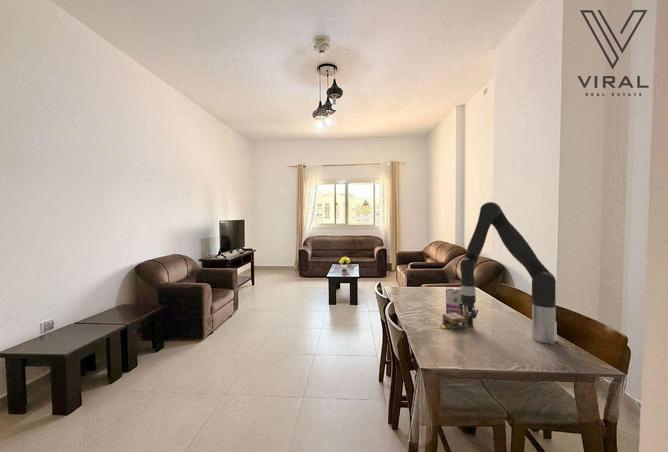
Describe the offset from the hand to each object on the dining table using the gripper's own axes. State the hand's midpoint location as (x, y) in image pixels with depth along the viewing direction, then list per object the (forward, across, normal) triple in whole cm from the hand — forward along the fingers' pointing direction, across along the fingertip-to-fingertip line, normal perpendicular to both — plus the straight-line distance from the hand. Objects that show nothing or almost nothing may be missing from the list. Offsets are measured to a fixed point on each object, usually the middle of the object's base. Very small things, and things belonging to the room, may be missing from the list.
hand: (468, 323), depth 161 cm
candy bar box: (+1, +17, -4) cm, 17 cm away
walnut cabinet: (+1, 0, +9) cm, 9 cm away
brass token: (+1, 0, +15) cm, 15 cm away
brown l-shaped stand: (+1, 0, +6) cm, 6 cm away
